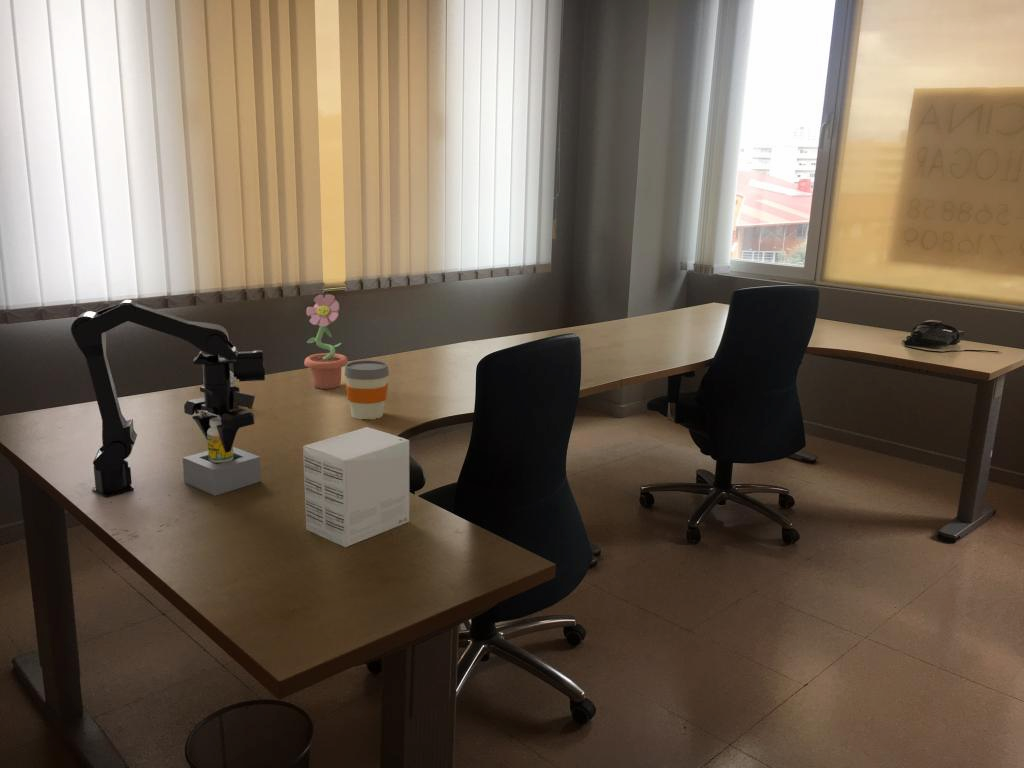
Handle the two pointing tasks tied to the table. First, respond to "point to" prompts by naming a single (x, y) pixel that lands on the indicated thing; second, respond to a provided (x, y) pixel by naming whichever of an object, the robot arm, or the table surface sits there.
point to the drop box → (221, 472)
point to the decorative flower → (325, 345)
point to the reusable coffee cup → (366, 388)
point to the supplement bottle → (217, 444)
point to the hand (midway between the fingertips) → (220, 449)
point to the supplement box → (356, 485)
